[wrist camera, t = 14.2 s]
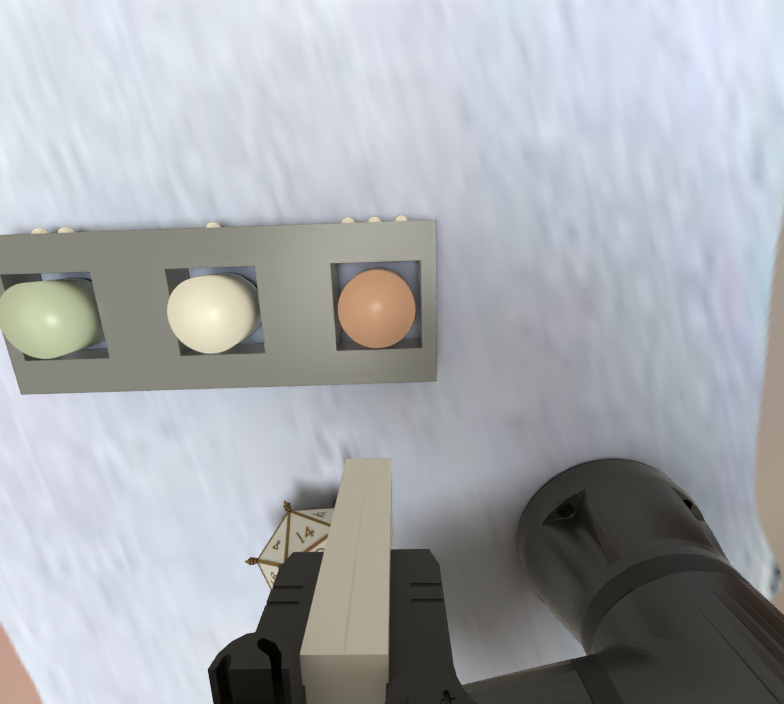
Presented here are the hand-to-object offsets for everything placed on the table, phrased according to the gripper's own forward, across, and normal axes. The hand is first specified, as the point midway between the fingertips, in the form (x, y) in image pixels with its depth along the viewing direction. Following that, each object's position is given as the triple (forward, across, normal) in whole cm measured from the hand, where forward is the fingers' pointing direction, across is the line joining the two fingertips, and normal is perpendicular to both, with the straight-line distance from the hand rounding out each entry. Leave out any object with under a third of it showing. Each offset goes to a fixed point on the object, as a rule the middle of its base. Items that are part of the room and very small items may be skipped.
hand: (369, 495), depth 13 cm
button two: (+17, +22, -4) cm, 28 cm away
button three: (+17, 0, -5) cm, 18 cm away
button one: (+17, +11, -4) cm, 21 cm away
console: (+18, +11, -4) cm, 21 cm away
